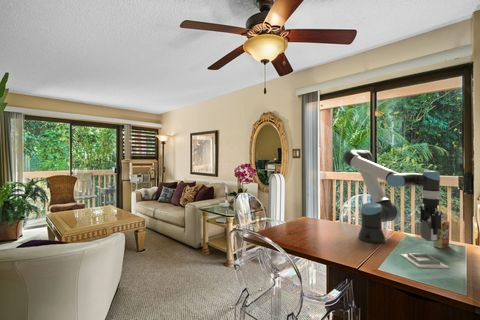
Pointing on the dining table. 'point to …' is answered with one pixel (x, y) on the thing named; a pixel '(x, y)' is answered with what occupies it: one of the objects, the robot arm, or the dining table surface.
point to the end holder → (423, 260)
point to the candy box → (443, 235)
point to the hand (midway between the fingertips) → (429, 237)
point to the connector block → (427, 230)
